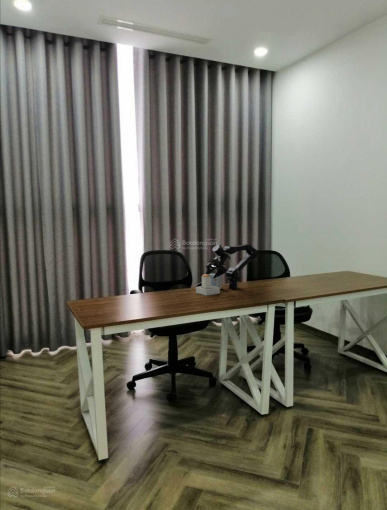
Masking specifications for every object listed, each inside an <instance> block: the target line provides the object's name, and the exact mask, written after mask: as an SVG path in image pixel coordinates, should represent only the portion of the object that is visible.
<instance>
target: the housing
mask: <svg viewBox="0 0 387 510" xmlns="http://www.w3.org/2000/svg"><path fill="white" fill-rule="evenodd" d="M195 293H196V294H199V295H203V296H205V297H206V296H213V295H217V294H220V293H221V290H220V288H219V287H215V286H211V289H203V288H202V285H201V286H195Z"/></svg>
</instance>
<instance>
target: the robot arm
mask: <svg viewBox="0 0 387 510" xmlns="http://www.w3.org/2000/svg"><path fill="white" fill-rule="evenodd" d="M243 251H245V252H246V254H245V255H246V256H245V257H243V258H242V260H240V261H239V262H238V264H236V265H235V266H234V267H233V266H230V267H229V268H228V269H227V268H226V267H225V265H226V262H227V261H228V260H231V256H230V255H234V254H235V253H238V252H243ZM212 252H213V253H214V254H215V255H216V256H217V257H210V256H209V258H208V262H207V263H205V267H206V272H205V274H213V271H215V270H216V272H215V273H214V274H215V275H214V277H213V278H214V279H215V278H216V277H218V276H220V275H221V276H223V275H224V274H225V276H226V280H227V281H228V287H227V289H229V290H234V291H235V290H237V289H240V287H238V285H239V284H238V282H240V280H241V277H240V275H239V274H240V272H241V271H242V270H243V269H244V268H245V267H246V266H247V265H248V264H249V263H250V262H251V261H253V260H255V259H257V258H258V257H259V255H260V252H259V250H258V249H256V248H255V247H254V246H252V245H251V244H249V243H245V244H239V245H234V246H232V245H231V246H229V245H225V246H224V247H222V245H221V244H217V245H215V246H214V247H213V248H212Z"/></svg>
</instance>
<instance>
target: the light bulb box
mask: <svg viewBox="0 0 387 510" xmlns="http://www.w3.org/2000/svg"><path fill="white" fill-rule="evenodd" d="M209 275H210V276H211V286H215V287H219V288H220V289H221V290H222V275H220V276H218V277H216V278H215V279H214V278H213V277H214V275H215V273H211V274H209Z"/></svg>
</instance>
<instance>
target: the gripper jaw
mask: <svg viewBox="0 0 387 510" xmlns="http://www.w3.org/2000/svg"><path fill="white" fill-rule="evenodd" d="M201 286H202V288H203V289H211V276H210V275H209V274H206V273H205V274H202V275H201Z"/></svg>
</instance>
